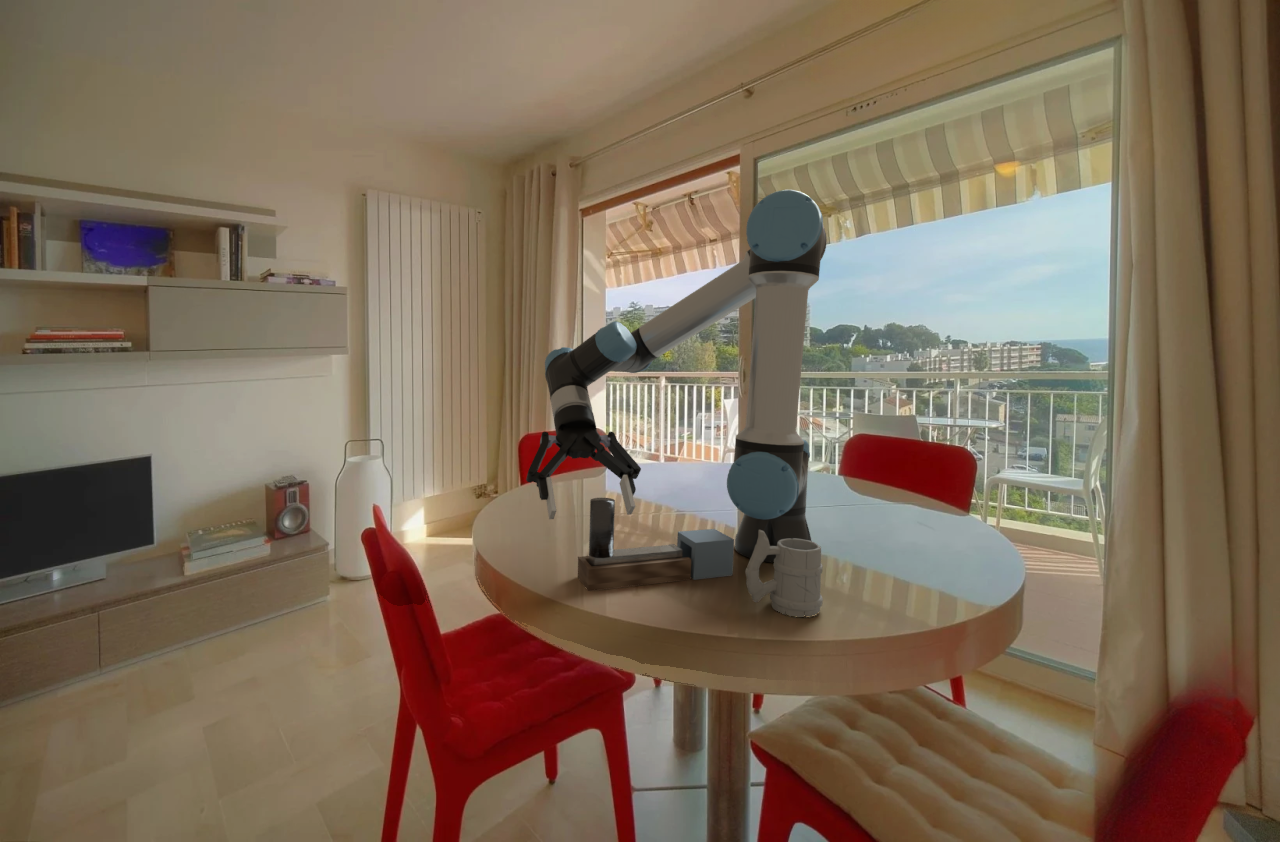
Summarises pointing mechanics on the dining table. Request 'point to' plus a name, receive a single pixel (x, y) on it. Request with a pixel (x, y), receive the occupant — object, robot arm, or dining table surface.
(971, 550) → the dining table surface
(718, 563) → the socket block
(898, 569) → the dining table surface
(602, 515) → the l-shaped peg bar
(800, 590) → the mug
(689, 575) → the walnut channel
